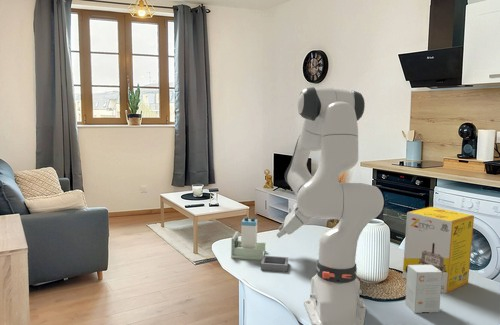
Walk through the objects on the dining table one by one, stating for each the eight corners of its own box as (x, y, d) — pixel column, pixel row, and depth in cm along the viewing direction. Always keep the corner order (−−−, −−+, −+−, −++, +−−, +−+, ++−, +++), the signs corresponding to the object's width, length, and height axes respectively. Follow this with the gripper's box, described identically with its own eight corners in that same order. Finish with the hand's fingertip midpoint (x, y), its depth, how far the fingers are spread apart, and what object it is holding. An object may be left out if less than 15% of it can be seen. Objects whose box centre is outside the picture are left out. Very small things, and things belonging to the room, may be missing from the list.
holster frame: (287, 271, 153) (287, 265, 153) (260, 269, 155) (260, 263, 154) (288, 263, 162) (288, 257, 162) (263, 261, 164) (263, 255, 163)
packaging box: (402, 278, 150) (406, 211, 147) (425, 268, 160) (430, 206, 157) (445, 293, 137) (451, 221, 134) (468, 282, 147) (474, 215, 144)
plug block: (255, 254, 169) (255, 219, 167) (240, 253, 170) (241, 218, 168) (256, 250, 174) (257, 216, 172) (242, 249, 175) (243, 215, 173)
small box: (428, 303, 130) (431, 264, 128) (439, 312, 124) (443, 271, 122) (404, 303, 129) (407, 264, 128) (414, 313, 123) (417, 272, 121)
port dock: (262, 260, 165) (262, 241, 164) (231, 257, 167) (231, 239, 166) (265, 250, 177) (265, 232, 176) (236, 248, 179) (236, 230, 178)
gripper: (298, 200, 177) (275, 221, 179) (297, 211, 157) (271, 234, 159) (308, 211, 177) (285, 231, 179) (308, 223, 157) (282, 246, 159)
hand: (278, 233), depth 169 cm, fingers open, 8 cm apart
